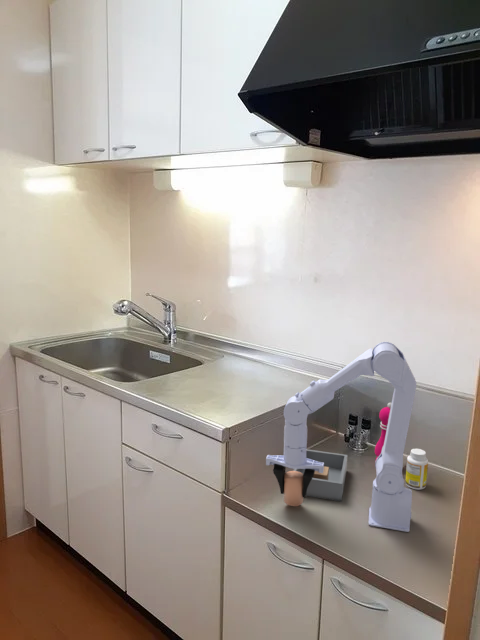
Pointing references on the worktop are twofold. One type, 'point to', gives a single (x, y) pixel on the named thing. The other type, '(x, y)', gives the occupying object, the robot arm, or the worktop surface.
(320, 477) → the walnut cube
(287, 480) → the terracotta cylinder
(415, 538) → the worktop surface
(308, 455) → the gray tote
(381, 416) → the pepper mill
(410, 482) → the supplement bottle
